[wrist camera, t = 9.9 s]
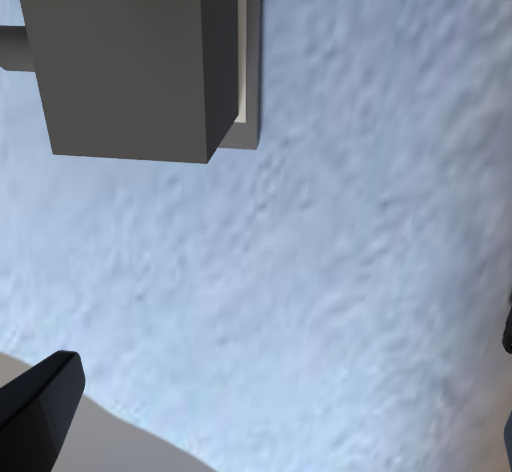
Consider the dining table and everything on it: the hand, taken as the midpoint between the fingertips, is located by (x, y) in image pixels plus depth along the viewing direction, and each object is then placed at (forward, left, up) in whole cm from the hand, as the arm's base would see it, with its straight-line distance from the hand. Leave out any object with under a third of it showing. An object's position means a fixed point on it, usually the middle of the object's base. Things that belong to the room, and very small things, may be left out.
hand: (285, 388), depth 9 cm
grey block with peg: (+7, -5, -12) cm, 15 cm away
